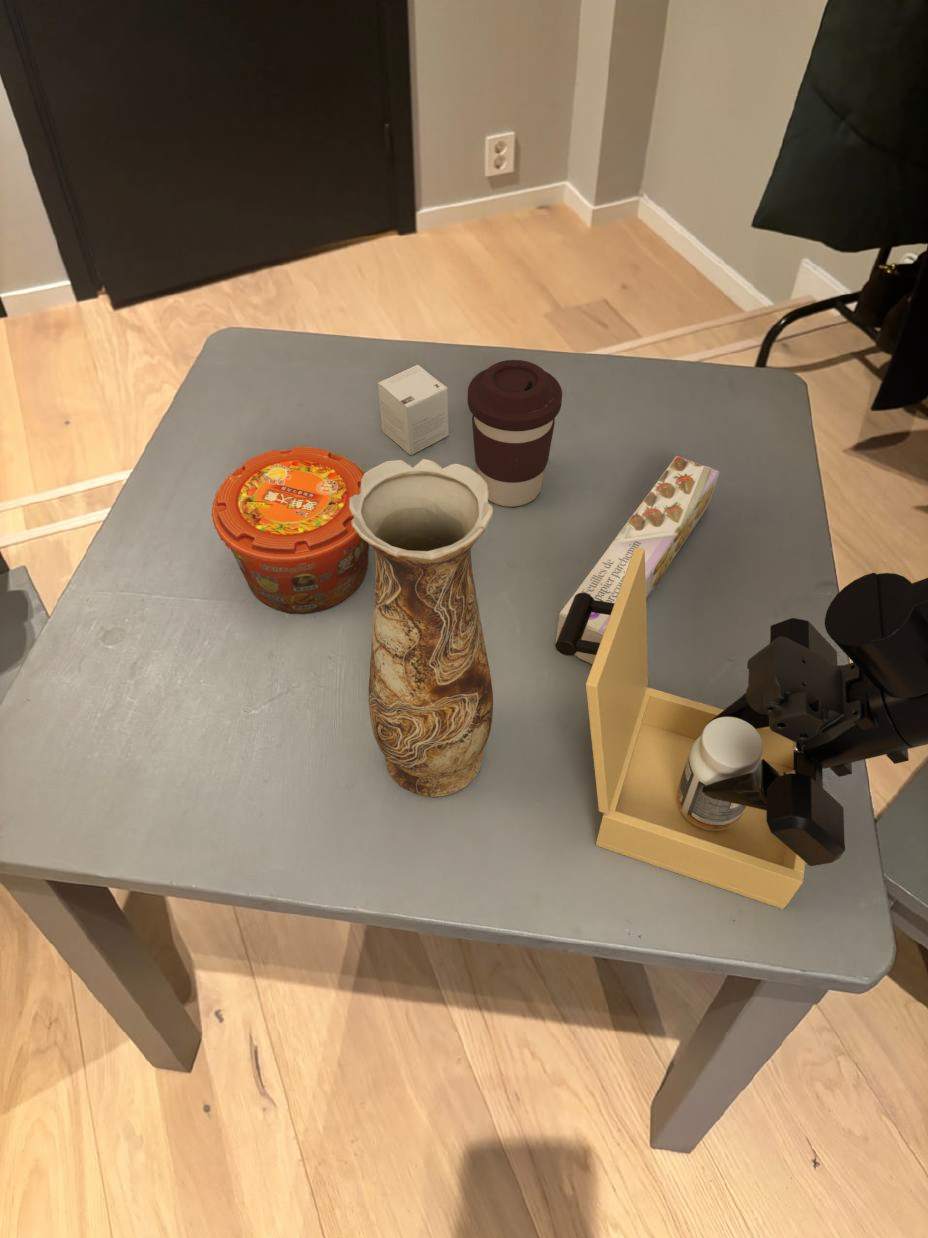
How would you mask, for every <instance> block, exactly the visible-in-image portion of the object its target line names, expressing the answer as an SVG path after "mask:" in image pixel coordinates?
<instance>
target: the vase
mask: <svg viewBox="0 0 928 1238" xmlns="http://www.w3.org/2000/svg"><path fill="white" fill-rule="evenodd" d="M364 473H365V474H364V475H363V477H362V479H361V487H360V494H359V495H354V496H352V497H350V498H349V509H350V511H351V513H352V515H353V517H354V518H353V519H352V521H351V525H352V527H353V528H354V530H355V531H356V533H357V534H358V535H359V536H360V537H361V538H362V539H363V540H365V541H366V542H367V543H368V544H369V546H371V547H372V549H374V557H375V580H374V581H375V583H374V607H373V619H372V620H373V621H372V633H371V652H370V663H369V678H368V679H369V680H368V709H369V719H370V724H371V729H372V734H373V737H374V739H375V742H376V744H377V746H378V748H379V750H380V752H381V753H382V755H383V756H384V759H385V766H386V769H387V771H388V774H389V775H390V777H391V778H392V780H393V781H394V782H395V783H396V784H397V785H398V786H400V787H401V788H403V789H404V790H406V791H408V792H411V793H414V794H416V795H419V796H424V797H430V798H431V797H443V796H444V797H445V796H449V795H452V794H454V793H456V792H459V791H461V790H462V789H464V788H465V787H467V786H468V785H469V784H470V783H472V781H473V780H474V779H475V778H476V777H477V775H478V773H479V772H480V769H481V766H482V763H483V758H484V750H485V747H486V746H487V743H488V740H489V737H490V734H491V729H492V724H493V714H494V713H493V712H494V690H493V682H492V675H491V670H490V664H489V658H488V653H487V647H486V643H485V638H484V632H483V625H482V620H481V616H480V610H479V604H478V598H477V592H476V585H475V579H474V573H473V565H472V548H473V546H474V545H475V544H476V543H477V541H478V540H479V539H480V538H481V537H482V535H483V534H484V533H485V531H487V527H488V526H489V524H490V521H491V519H492V518H493V515H494V505H493V504H492V503H491V504H490V503H489V502H490V501H489V500H488V498H489V494H490V492H489V487H488V484H487V483H486V481H485V480H484V479H483V478H482V476H481V475H480V474H478V471H475V470H474V469H473V468H471V467H469V466H466V465H463V464H460V463H451V464H449V465H447V466H445V467H443V466H441V465H440V464H438V462H436V461H435V460H432V459H426V458H422V459H421V460H420V461H419V462H418V463H416V464H415V465H414V466H412V465H410V464H408V463H407V462H406V461H404V460H402V459H393V460H387V461H384V462H382V463H380V464H378V465H376V466H375V465H374V467H371V468H370V469H368V470H367V471H366V472H364Z"/></svg>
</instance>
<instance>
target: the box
mask: <svg viewBox="0 0 928 1238" xmlns="http://www.w3.org/2000/svg"><path fill="white" fill-rule="evenodd" d="M719 476H720V471H719V470H716V469H713V468H712V467H710V466H707V465H703V464H700V463H698V462H696V461H692V460H691V459H687V458H686V457H682V456H679V455H676V456H675V457H674V459H672V461H671V463H669V465H668V466H667V468H666V470H665V471H664V472H663V473H662V475H661V476H660V477H659V479H658V480H657V481H656V482H655V484H654V485H653V486H652V488H651V490H650V491H649V492H648V494H647V495H646V496H645V498H644V499H643V500H642V501H641V503H640V504H639V506H638V507H637V509H636V510H635V511H634V512H633V514H632V515H631V516H630V517H629V519H628V520H627V522H626V523H625V525H624V526H623V527H622V529H621V530H620V531H619V533H618V534H617V535H616V537H615V538H614V539H613V540H612V542H611V543H610V545H609V546H608V547H607V549H606V550H605V552H604V553H603V554H602V555H601V557H600V558H599V559H598V561H597V562H596V564H595V565H594V566H593V568H592V569H591V570H590V572H589V573H588V575H587V576H586V577H585V578H584V580H583V581H582V582H581V584H580V585H579V586H578V588H577V589H576V590H575V592H574V593H573V594H572V596H571V597H570V598H569V600H568V601H567V602H566V604H565V605H564V607H563V608H562V609H561V610H560V612H559V615H558V620H557V621H558V622H557V629H556V636H555V643H554V646H555V645H556V642H557V639H558V637H559V634H560V632H561V629H562V627H563V624H564V622H565V619H566V617H567V614H568V612H569V609H570V607H571V604H572V602H573V599H574V597H575V595H576V594H578V593H586V594H589V595H590V596H592V597H593V599H594V600H597V601H604V602H610V603H615V601H616V598H617V596H618V593H619V590H620V587H621V584H622V582H623V579H624V576H625V573H626V570H627V568H628V565H629V562H630V559H631V557H632V554H633V551H634V548H643V549H645V577H646V600H647V599H648V597H649V596H650V594H651V593H652V591H653V590H654V589H655V587H656V586H657V584H658V583H659V581H660V580H661V578H662V577H663V575H664V574H665V572H666V571H667V569H668V567H669V566H670V564H672V561H674V558H675V557H676V555H677V554H678V553H679V551H680V550H681V548H682V546H683V545H684V544H685V542H686V541H687V539H688V538H689V536H690V535H691V534H692V532H693V530H694V529H695V528H696V526H697V524H698V523H699V521H700V520H701V518H702V517H703V515H704V514H705V512H706V511H707V509H708V508H709V505H710V503H711V500H712V496H713V495H714V490H715V488H716V485H717V483H718V479H719ZM609 618H610V615H606V614H600V613H593V612H591V615H590V618H589V620H588V623H587V626H586V628H585V631H584V634H583V636H582V639H581V640H586V641H592V642H598V643H601V640H602V637H603V635H604V632H605V629H606V626H607V623H608V621H609ZM573 656H575V657H577V658H578V659H580V660H582V661H584V662H586V663H588V664H591V665H593V662H594V660H595V657H596V655H592V654H587V653H581V652H576V653H575V654H574V655H573Z"/></svg>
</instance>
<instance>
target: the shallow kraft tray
mask: <svg viewBox="0 0 928 1238" xmlns="http://www.w3.org/2000/svg"><path fill="white" fill-rule="evenodd" d="M724 710H725V709H722V708H719V707H716V706H712V705H709V704H705V703H702V702H699V701H695V700H692V699H689V698H686V697H682V696H678V695H676V694H672V693H668V692H665V691H662V690H658V689H655V688H653V687H648V686H647V689H646V692H645V695H644V698H643V702H642V705H641V708H640V712H639V715H638V718H637V721H636V725H635V728H634V731H633V735H632V738H631V741H630V744H629V748H628V751H627V754H626V758H625V761H624V764H623V767H622V771H621V774H620V777H619V781H618V784H617V787H616V790H615V794H614V797H613V800H612V804H611V807H610V810H609V813H608V814H607V813H602V818H601V822H600V826H599V829H598V834H597V837H596V841H595V846H597V847H599V848H602V849H605V850H607V851H611V852H614V853H617V854H620V855H623V856H626V857H628V858H631V859H634V860H638V861H640V862H643V863H646V864H649V865H651V866H655V867H658V868H661V869H664V870H667V871H669V872H673V873H676V874H679V875H681V876H684V877H688V878H690V879H693V880H696V881H699V882H702V883H705V884H708V885H711V886H713V887H716V888H718V889H719V888H720V889H723V890H726V891H729V892H731V893H734V894H737V895H740V896H743V897H746V898H749V899H751V900H755V901H757V902H760V903H763V904H766V905H769V906H772V907H776V908H777V909H782V910H785V908H786V907H787V906H788V904H789V903H790V901H791V900H792V899H793V897H794V896H795V894H796V893H797V892H798V890H799V889H800V887H801V886H802V884H803V883H804V877H805V870H806V864H807V863H806V862H805V861H804V860H803V859H801V858H800V857H799V856H798V855H797V854H796V853H794V852H793V851H792V850H791V849H790V848H789V847H787V846H786V845H785V844H784V843H783V842H782V841H780V840H779V839H778V838H777V837H776V836H775V835H773V834H772V833H771V831H770V829H769V826H768V824H767V811H765V810H762V809H758V808H754V807H749V806H746V808H745V810H744V812H743V814H742V816H741V818H740V819H739V821H738V822H737V823H736V824H735V825H733V826H732V827H730V828H728V829H725V830H722V831H709V830H704V829H702V828H699V827H697V826H695V825H694V824H692V823H691V822H690V821H688V820H687V819H686V818H685V817H684V815H683V814H682V813H681V811H680V809H679V806H678V803H677V790H678V786H679V783H680V780H681V777H682V774H683V770H684V767H685V764H686V761H687V758H688V756H689V753H690V749H691V747H692V745H693V744H694V742H695V741H696V740H697V739H698V738H699V737H700V736H701V735H702V732H703V730H704V728H705V727H706V725H707V723H708V722H710V721H711V720H712V719H713V718H715V717H716V716H717V715H719V714H720V713H721V712H722V711H724ZM756 730H757V732H758V733H759V734H760V736H761V739H762V742H763V751H762V755H761V758H760V761H761V760H762V759H764V760H765V761H767V762H768V763H769V764H770V765H771V766H772V767H773V768H774V769H775V770H776V771H777V772H779V773H783V772H785V773H786V772H790V771H794V769H793V741H792V740H790V739H787V738H785V737H783V736H781V735H779V734H777V733H775V732H773V731H771V730H770V727H764V728H758V729H756Z"/></svg>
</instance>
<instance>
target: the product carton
mask: <svg viewBox="0 0 928 1238" xmlns="http://www.w3.org/2000/svg"><path fill="white" fill-rule="evenodd" d="M377 390H378V399H379V409H380V418H381V419H380V420H381V430H382V432H383V433H384V434H385V435H386V436H387V437H388V438H390V439H391V440H392V441H393V442H394V443H395V444H397V445H398V446H399V447H400V448H401V449H402V450H403V451H405V453H407V454H408V455H409V456H412V455H415V454H416V453H419V452H420V451H422V450H424V449H426V448H428V447H430V446H431V445H433V444H435V443H438V442H440V441H441V440H443V439H445V438H447V437H449V436H450V430H449V427H450V426H449V388H448V386H447V385H445V384H443V383H442V382H441V381H439V380H438V379H437V378H436V377H434V376H433V375H431V374H430V373H429V372H428V371H427V370H426V369H424V368H423V367H422V366H420V365H419V364H416V365H414V366H412V367H410V368H407V369H405V370H402V371H401V372H399V373H396V374H394V375H391V376H390V377H388V378H385V379H383V380H381V381H379V382H377Z"/></svg>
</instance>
